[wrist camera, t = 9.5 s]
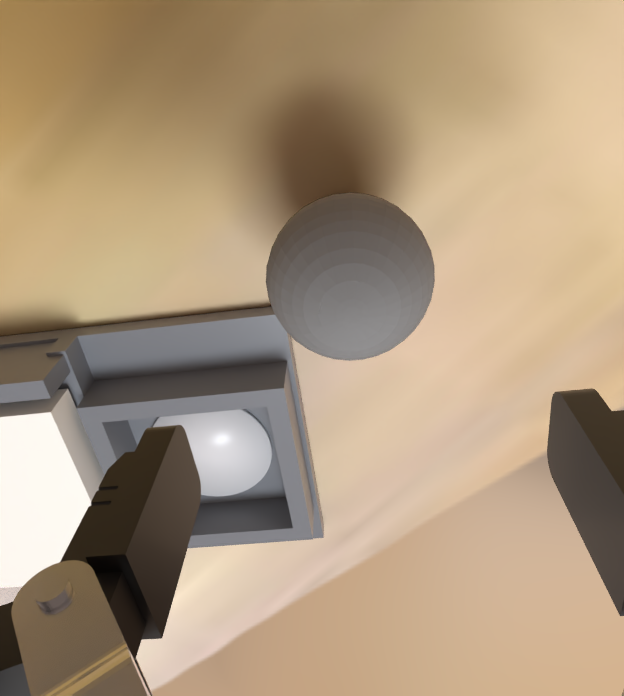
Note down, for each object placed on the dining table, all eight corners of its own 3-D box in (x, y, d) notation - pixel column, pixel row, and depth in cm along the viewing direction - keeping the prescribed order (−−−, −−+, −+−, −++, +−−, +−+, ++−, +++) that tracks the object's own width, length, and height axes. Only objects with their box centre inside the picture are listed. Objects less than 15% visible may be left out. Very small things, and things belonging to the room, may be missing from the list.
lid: (-105, 405, 29) (-133, 429, 27) (67, 388, 28) (50, 412, 26) (-9, 561, 35) (-26, 589, 33) (136, 551, 34) (126, 579, 32)
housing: (-95, 347, 30) (-162, 397, 26) (285, 304, 29) (277, 352, 24) (19, 548, 38) (-18, 611, 34) (323, 525, 36) (322, 589, 32)
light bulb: (312, 296, 28) (304, 415, 20) (259, 186, 26) (223, 267, 17) (425, 252, 27) (471, 359, 18) (383, 131, 24) (413, 189, 16)
